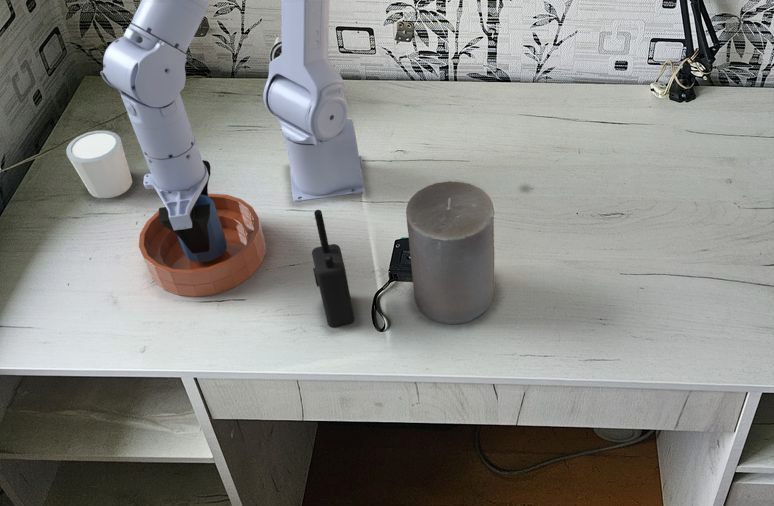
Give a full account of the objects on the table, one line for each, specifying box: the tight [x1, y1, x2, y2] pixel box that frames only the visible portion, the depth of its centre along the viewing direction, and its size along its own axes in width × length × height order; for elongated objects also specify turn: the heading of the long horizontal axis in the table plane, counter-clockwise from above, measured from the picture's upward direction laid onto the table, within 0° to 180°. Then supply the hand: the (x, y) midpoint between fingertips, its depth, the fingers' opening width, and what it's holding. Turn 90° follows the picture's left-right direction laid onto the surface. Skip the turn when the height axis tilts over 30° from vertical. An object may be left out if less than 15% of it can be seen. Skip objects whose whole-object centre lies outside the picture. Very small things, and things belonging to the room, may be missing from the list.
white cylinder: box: [65, 130, 133, 199], centre depth 115 cm, size 7×7×7 cm
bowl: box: [138, 193, 267, 298], centre depth 107 cm, size 14×14×4 cm
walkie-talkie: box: [311, 209, 356, 329], centre depth 97 cm, size 5×3×15 cm
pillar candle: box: [405, 180, 496, 325], centre depth 99 cm, size 10×10×15 cm
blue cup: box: [178, 194, 227, 263], centre depth 105 cm, size 5×5×6 cm
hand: (201, 234), depth 106 cm, fingers closed on blue cup, 5 cm apart
